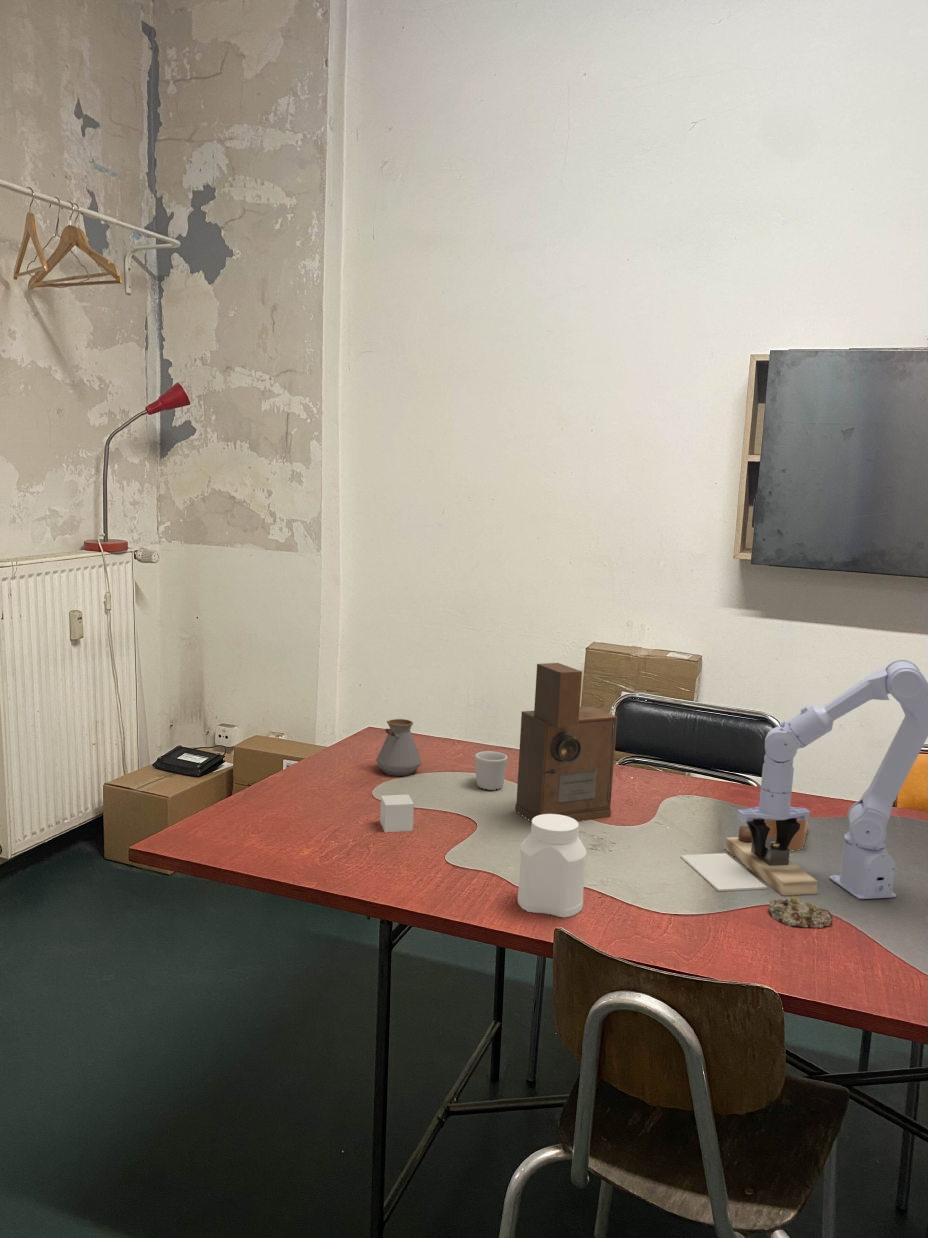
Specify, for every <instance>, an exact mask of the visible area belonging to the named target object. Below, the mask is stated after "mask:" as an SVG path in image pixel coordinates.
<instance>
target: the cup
mask: <svg viewBox="0 0 928 1238" xmlns="http://www.w3.org/2000/svg"><path fill="white" fill-rule="evenodd" d="M508 758H509V757H508V756H507V754H505V753H503V752H498V751H490V750H487V751H486V750H484V751H479V752H477V753H475V755H474V761H475V763H474V764H475V765H474V766H475V779H476V782H475V783H476V785H477V787H478V788H479V789H482V788H483V790H486V789H487V791H497V790H500V789H502V788H503V786H504V784H505V777H506V771H507V765H508ZM496 789H497V790H496Z"/></svg>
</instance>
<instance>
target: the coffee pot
mask: <svg viewBox="0 0 928 1238" xmlns="http://www.w3.org/2000/svg"><path fill="white" fill-rule="evenodd" d="M386 723H387V726H388V727H389V728H385V729H383V730H382V731H381V736H382V737H384V738H385V739H384V742H383V745H382V747H381V749H380V751H379V753H378V755H377V756H376V760H375V761H376V764H377V765H378V767H379V769H381V770H382V771H383V773H385V774H386V775H390V776H395V777H397V776H398V777H399V776H401V777H402V776H403V777H404V776H410V775H412V774H413V773H414V772H415V771H416V770H417V769H419V768H420V766H421V764H422V758H421V755H420V753H419V749H418V747H417V745H416V742H415V740H414V737H413V734H412V732H411V729H412V726H413V725H414V722H413V721H412V720H409V719H403V718H396V719H389V720H387V721H386ZM384 731H385V733H387V736H386V737H385V735H383V732H384Z"/></svg>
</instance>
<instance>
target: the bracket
mask: <svg viewBox="0 0 928 1238" xmlns="http://www.w3.org/2000/svg"><path fill="white" fill-rule="evenodd" d="M797 822H798V823H799V824H800V829H799V830H798V831H797V833H796V834H795V835H794V837H793V838H792V840H791V842H790V844H789V846H788V848H787V849H789V850H798V849H801V848H802V847H803V846H805V843H804V842H806V839H807V835H806V834H808V830H809V829H808V827H809V820H807V821H805V820H803V819H799V820H797ZM764 823H766V826H768V827H769V828H770V830H769V833H768V836H767V837H772V838H773V839H775V840H776V838H777V828H776V820H771V821H765V822H764ZM805 838H806V839H805ZM803 848H804V847H803ZM801 850H802V849H801ZM798 851H799V850H798Z"/></svg>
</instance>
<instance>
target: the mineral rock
mask: <svg viewBox="0 0 928 1238" xmlns="http://www.w3.org/2000/svg"><path fill="white" fill-rule="evenodd" d="M768 901H769V902H768V903H769V908H768V911H769V912H770V914H771V917H772V918H773V919H774V920H777V921H778V922H781V923H782V924H784V925H786V926H788V927H799V928H805V929H806V928H814V929H816V928H817V929H821V928H824V927H829V926H830V925H831V924H833V916H832V912H831V910H829V909H826V908H824V907H819V906H817V905H815V904H811V903H810V902H801V899H800V898H799V897H797V896H791V897H790V900H789V899H786V898H783V899H782V898H776V899H772V898H770V899H769V900H768Z"/></svg>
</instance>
